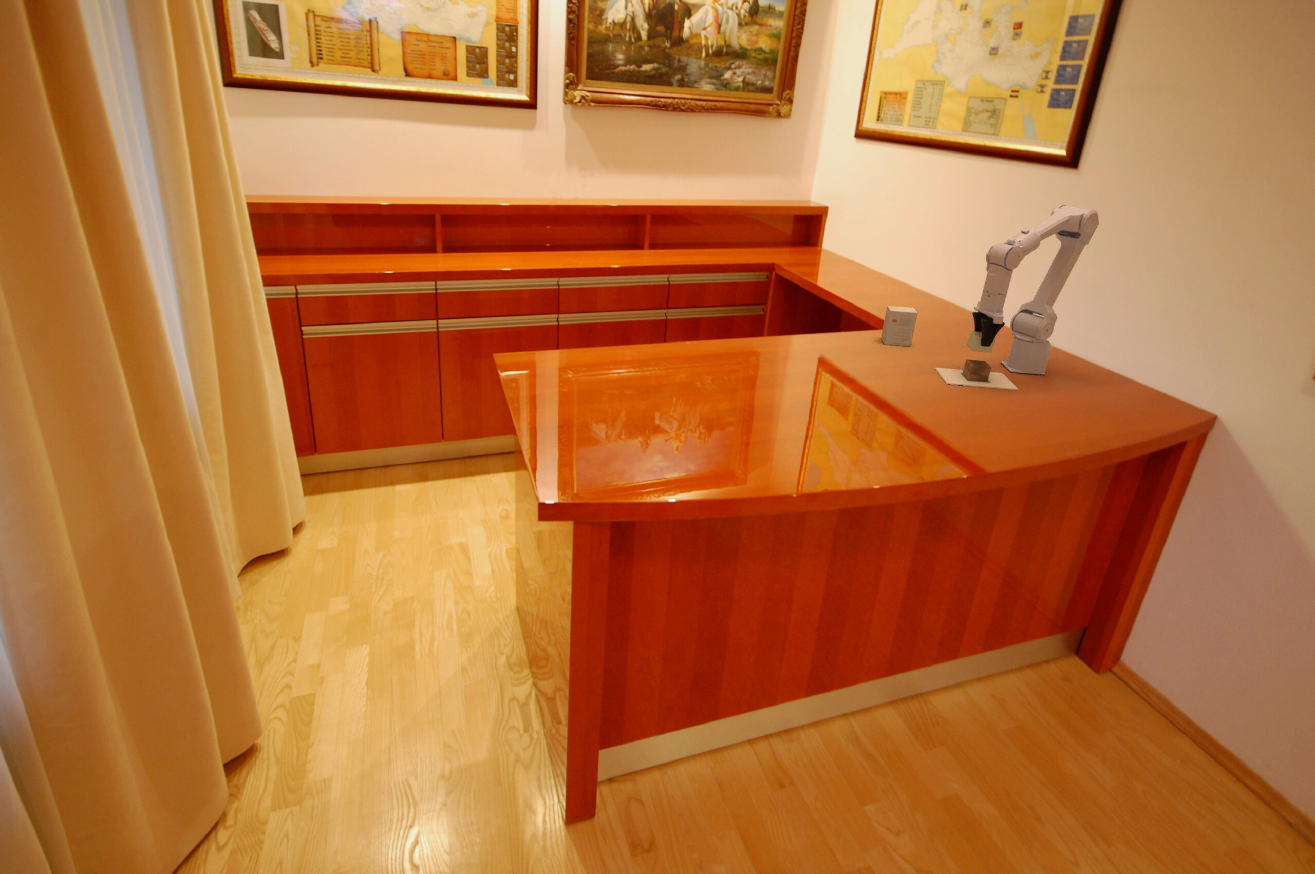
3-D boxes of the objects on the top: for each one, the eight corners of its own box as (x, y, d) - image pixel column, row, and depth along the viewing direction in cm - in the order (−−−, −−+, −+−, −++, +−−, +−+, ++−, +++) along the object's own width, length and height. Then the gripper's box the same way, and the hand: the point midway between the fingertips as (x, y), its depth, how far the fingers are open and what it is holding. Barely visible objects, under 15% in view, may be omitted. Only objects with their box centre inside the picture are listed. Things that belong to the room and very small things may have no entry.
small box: (907, 341, 226) (914, 307, 222) (910, 347, 221) (918, 312, 217) (880, 339, 227) (886, 305, 222) (883, 344, 222) (890, 310, 217)
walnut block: (981, 375, 200) (985, 360, 198) (987, 381, 195) (991, 367, 194) (962, 373, 200) (966, 359, 198) (968, 380, 196) (971, 365, 194)
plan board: (1001, 374, 203) (1002, 372, 203) (1017, 390, 192) (1018, 388, 192) (934, 369, 204) (935, 367, 203) (947, 384, 193) (947, 382, 193)
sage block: (985, 347, 199) (989, 332, 197) (991, 353, 194) (995, 338, 192) (966, 345, 199) (970, 331, 197) (972, 351, 194) (976, 336, 193)
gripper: (970, 284, 197) (958, 333, 202) (988, 297, 184) (974, 350, 189) (997, 286, 196) (985, 335, 202) (1017, 300, 183) (1003, 352, 189)
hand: (981, 342), depth 196 cm, fingers closed on sage block, 5 cm apart
